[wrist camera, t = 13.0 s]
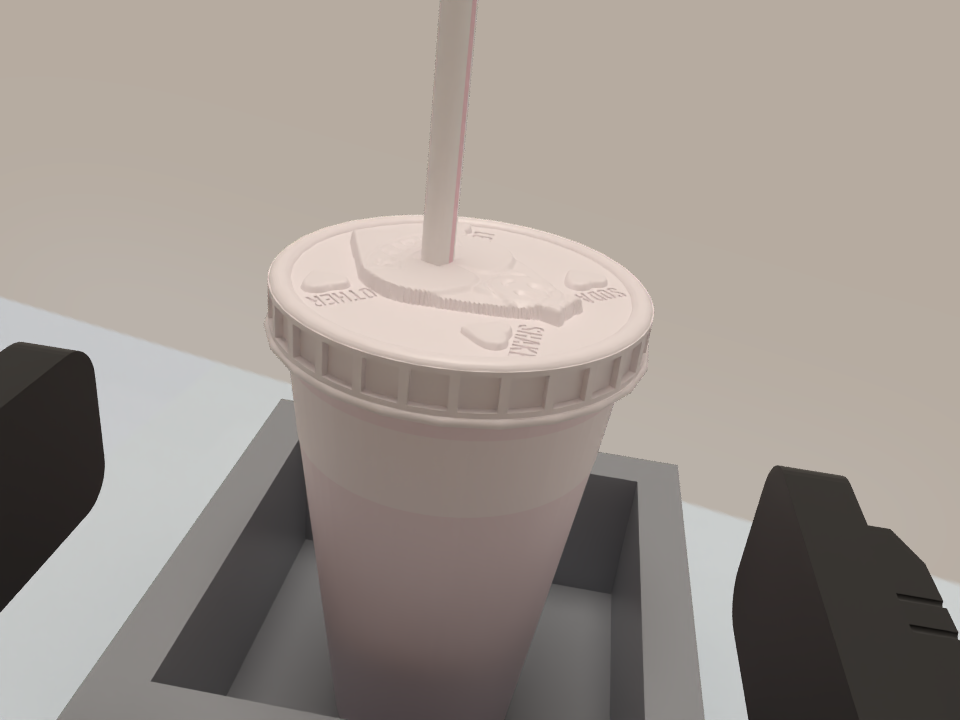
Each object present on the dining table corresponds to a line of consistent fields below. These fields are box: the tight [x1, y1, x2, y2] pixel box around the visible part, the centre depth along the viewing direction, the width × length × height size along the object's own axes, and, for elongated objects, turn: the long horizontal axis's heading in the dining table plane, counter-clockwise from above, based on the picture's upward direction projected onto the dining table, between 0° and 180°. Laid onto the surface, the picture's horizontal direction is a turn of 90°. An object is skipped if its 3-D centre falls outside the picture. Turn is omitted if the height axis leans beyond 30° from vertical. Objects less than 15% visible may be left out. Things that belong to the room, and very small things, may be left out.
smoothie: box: [264, 0, 654, 720], centre depth 16 cm, size 6×6×14 cm
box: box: [57, 399, 705, 720], centre depth 18 cm, size 10×10×4 cm
